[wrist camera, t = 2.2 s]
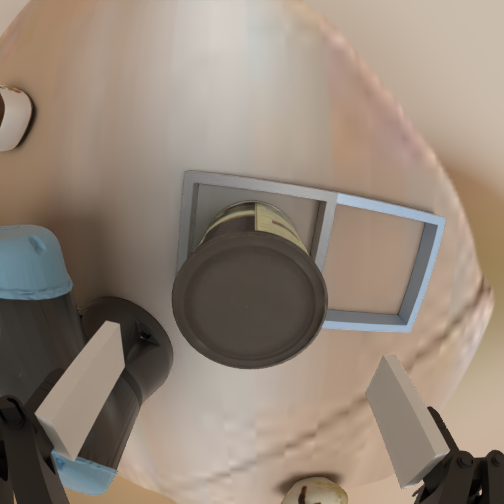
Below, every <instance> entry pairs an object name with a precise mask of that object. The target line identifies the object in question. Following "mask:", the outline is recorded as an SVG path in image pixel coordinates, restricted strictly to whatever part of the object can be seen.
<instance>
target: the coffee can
mask: <svg viewBox="0 0 504 504" xmlns="http://www.w3.org/2000/svg"><path fill="white" fill-rule="evenodd" d="M327 308H328V294H327V288H326V284H325V281H324V278H323V276H322V274H321V272H320V270H319V268H318V267H317V265H316V264H315V262H314V261H313V260H312V258H311V257H310V256H309V254H308V252H307V250H306V249H305V247H304V245H303V243H302V241H301V240H300V238H299V236H298V234H297V233H296V230H295V228H294V226H293V224H292V222H291V221H290V219H289V218H288V217H287V216H286V215H285V214H284V213H283V212H282V211H280V210H279V209H278V208H276V207H274V206H272V205H270V204H267V203H264V202H260V201H243V202H239V203H235V204H233V205H231V206H229V207H227V208H225V209H224V210H222V211H221V212H220V213H219V214H218V215H217V216H216V217H215V218H214V220H213V221H212V223H211V224H210V226H209V228H208V230H207V232H206V233H205V235H204V237H203V238H202V240H201V241H200V243H199V244H198V245H197V247H196V248H195V250H194V252H193V253H192V254H191V255H190V256H189V257H188V258H187V259H186V261H185V262H184V263H183V265H182V266H181V268H180V270H179V272H178V274H177V276H176V278H175V281H174V285H173V290H172V309H173V314H174V318H175V321H176V323H177V326H178V328H179V330H180V332H181V333H182V335H183V336H184V337H185V339H186V340H187V341H188V343H189V344H190V345H191V346H192V347H193V348H194V349H196V350H197V351H198V352H199V353H201V354H202V355H204V356H205V357H207V358H208V359H210V360H212V361H214V362H217V363H219V364H222V365H225V366H229V367H233V368H239V369H261V368H268V367H272V366H276V365H279V364H282V363H284V362H286V361H288V360H290V359H292V358H294V357H295V356H297V355H298V354H300V353H301V352H302V351H304V350H305V349H306V348H307V347H308V346H309V345H310V344H311V343H312V342H313V340H314V339H315V338H316V336H317V335H318V333H319V331H320V330H321V328H322V325H323V323H324V321H325V317H326V314H327Z"/></svg>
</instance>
